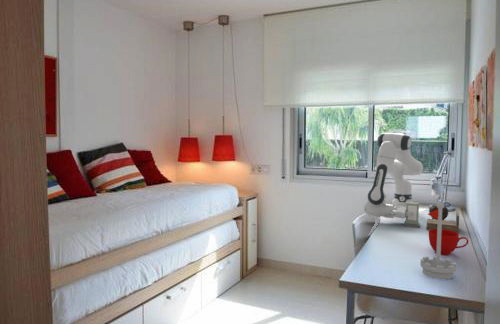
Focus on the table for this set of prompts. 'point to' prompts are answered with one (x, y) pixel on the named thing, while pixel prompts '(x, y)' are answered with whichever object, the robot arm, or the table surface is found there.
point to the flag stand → (438, 254)
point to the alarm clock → (444, 210)
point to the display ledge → (444, 224)
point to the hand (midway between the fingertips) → (413, 213)
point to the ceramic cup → (445, 241)
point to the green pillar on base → (413, 220)
